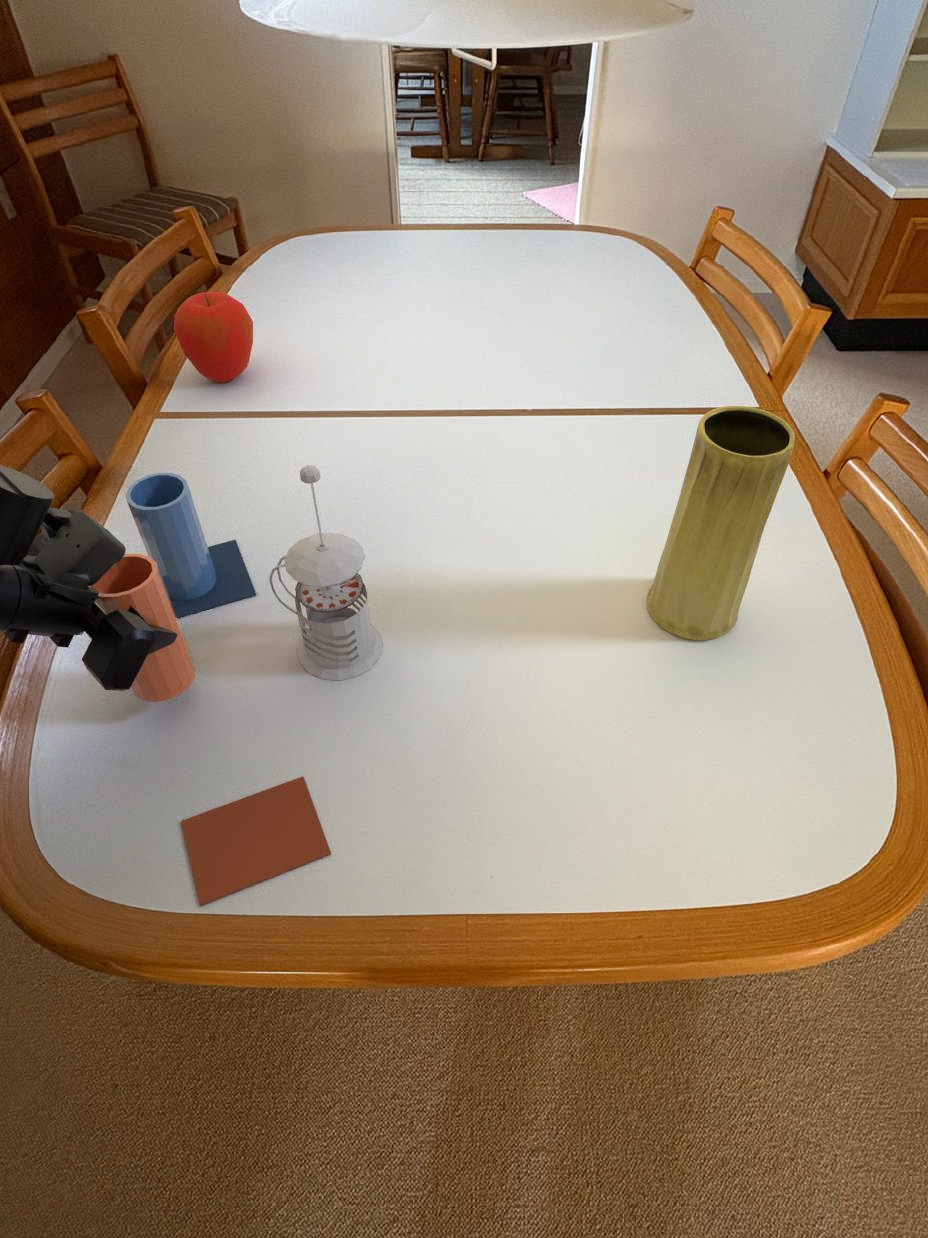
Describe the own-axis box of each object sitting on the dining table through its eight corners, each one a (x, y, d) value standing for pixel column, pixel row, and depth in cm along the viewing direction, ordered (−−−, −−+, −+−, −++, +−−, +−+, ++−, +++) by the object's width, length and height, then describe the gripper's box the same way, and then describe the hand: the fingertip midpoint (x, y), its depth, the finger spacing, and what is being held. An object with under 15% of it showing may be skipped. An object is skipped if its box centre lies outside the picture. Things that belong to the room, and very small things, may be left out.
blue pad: (138, 630, 92) (137, 628, 91) (124, 570, 98) (124, 569, 98) (256, 595, 95) (256, 594, 95) (235, 540, 102) (235, 539, 102)
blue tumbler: (166, 607, 94) (130, 516, 84) (157, 572, 98) (121, 481, 88) (221, 591, 96) (193, 500, 85) (210, 557, 100) (181, 466, 89)
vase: (755, 614, 93) (827, 436, 75) (695, 656, 89) (755, 477, 71) (687, 565, 99) (738, 388, 81) (627, 602, 95) (667, 424, 76)
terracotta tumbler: (132, 709, 80) (83, 604, 70) (129, 667, 84) (83, 563, 75) (198, 691, 81) (159, 586, 72) (192, 650, 86) (154, 547, 77)
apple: (270, 387, 128) (253, 302, 118) (195, 402, 125) (172, 316, 115) (253, 351, 136) (236, 269, 125) (183, 365, 133) (160, 282, 122)
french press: (362, 690, 86) (335, 510, 67) (266, 664, 88) (215, 484, 70) (395, 627, 92) (379, 447, 74) (306, 604, 94) (268, 425, 76)
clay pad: (200, 906, 69) (200, 905, 69) (181, 821, 75) (181, 820, 75) (331, 854, 73) (331, 853, 72) (303, 777, 78) (303, 776, 78)
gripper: (96, 568, 60) (246, 598, 73) (-8, 464, 68) (143, 507, 82) (36, 690, 61) (193, 697, 75) (-58, 573, 70) (97, 598, 84)
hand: (156, 619), depth 79 cm, fingers closed on terracotta tumbler, 7 cm apart
